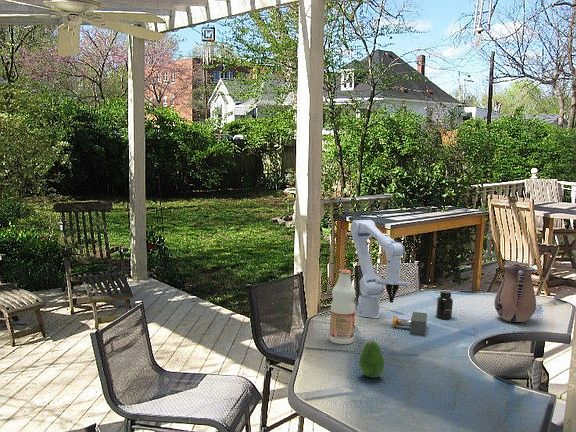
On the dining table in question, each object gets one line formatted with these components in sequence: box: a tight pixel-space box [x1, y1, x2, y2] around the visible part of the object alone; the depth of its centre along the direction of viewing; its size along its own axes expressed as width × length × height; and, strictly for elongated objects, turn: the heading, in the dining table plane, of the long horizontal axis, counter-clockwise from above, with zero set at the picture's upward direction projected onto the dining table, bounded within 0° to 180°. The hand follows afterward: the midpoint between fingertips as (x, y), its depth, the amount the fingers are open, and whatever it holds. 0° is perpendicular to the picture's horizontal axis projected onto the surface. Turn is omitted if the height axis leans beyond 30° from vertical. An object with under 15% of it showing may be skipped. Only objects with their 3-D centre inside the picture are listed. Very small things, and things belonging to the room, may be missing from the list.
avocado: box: [359, 340, 385, 379], centre depth 196 cm, size 8×8×12 cm
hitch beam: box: [409, 311, 428, 337], centre depth 250 cm, size 6×14×6 cm, turn 165°
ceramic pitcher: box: [494, 263, 537, 323], centre depth 268 cm, size 18×21×25 cm
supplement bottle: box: [435, 290, 454, 321], centre depth 270 cm, size 7×7×12 cm
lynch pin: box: [392, 316, 411, 328], centre depth 251 cm, size 12×4×4 cm, turn 75°
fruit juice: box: [328, 268, 356, 345], centre depth 231 cm, size 9×9×28 cm
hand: (391, 302), depth 256 cm, fingers closed
